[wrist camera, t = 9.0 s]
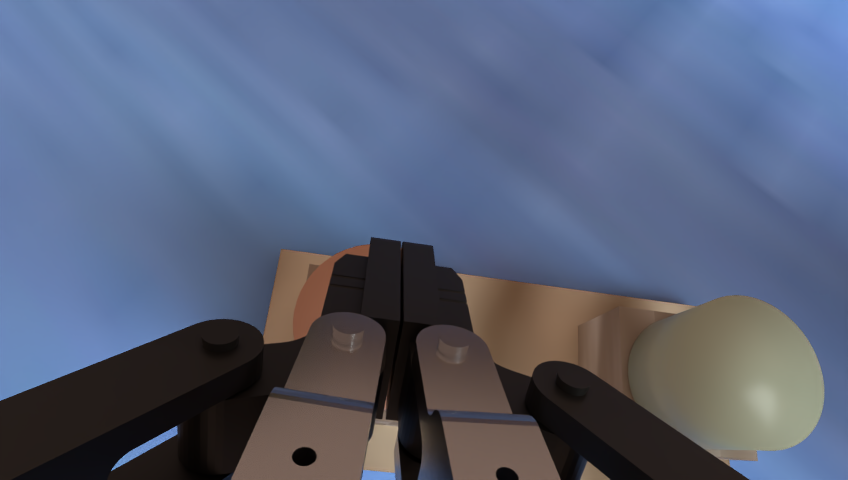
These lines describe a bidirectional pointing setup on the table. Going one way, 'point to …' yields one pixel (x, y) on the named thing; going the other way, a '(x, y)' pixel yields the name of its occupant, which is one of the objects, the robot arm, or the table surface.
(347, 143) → the table surface
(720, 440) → the pale green rounded knob
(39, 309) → the table surface
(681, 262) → the table surface
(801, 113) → the table surface
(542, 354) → the button board
